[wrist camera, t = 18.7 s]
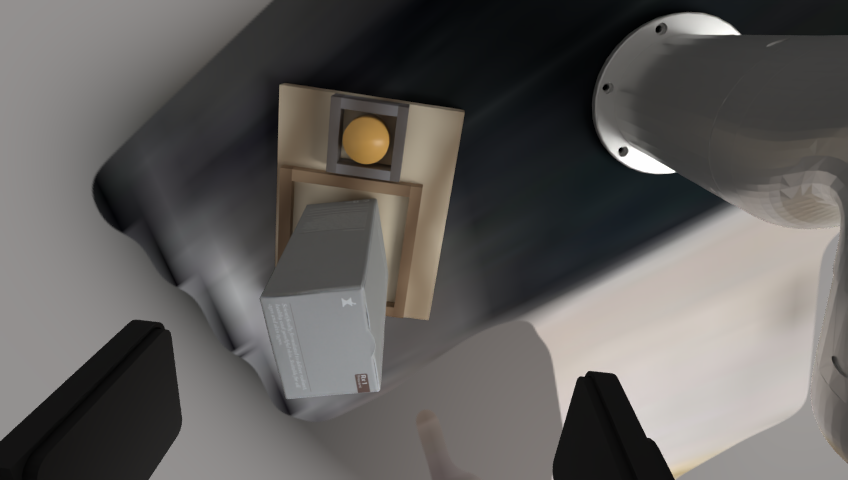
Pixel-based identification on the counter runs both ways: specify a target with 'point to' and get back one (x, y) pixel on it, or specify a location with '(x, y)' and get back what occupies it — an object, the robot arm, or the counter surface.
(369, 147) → the button
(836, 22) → the counter surface
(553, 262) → the counter surface
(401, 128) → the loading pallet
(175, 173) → the counter surface
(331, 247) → the skincare box
